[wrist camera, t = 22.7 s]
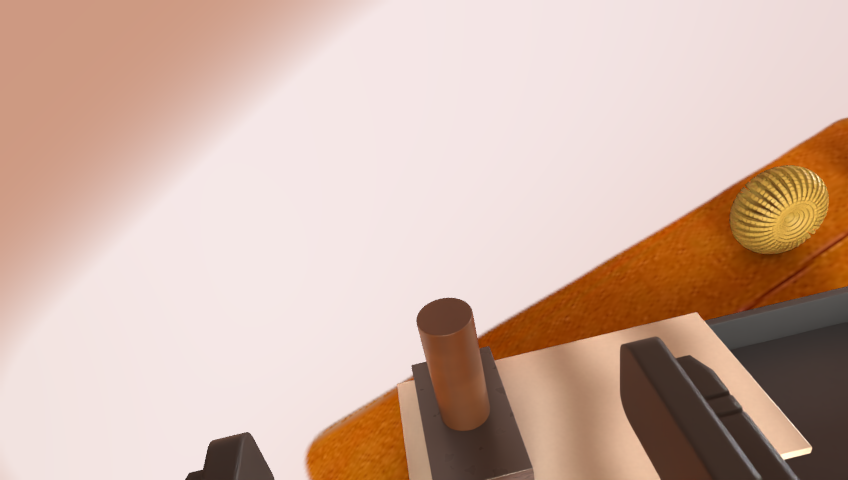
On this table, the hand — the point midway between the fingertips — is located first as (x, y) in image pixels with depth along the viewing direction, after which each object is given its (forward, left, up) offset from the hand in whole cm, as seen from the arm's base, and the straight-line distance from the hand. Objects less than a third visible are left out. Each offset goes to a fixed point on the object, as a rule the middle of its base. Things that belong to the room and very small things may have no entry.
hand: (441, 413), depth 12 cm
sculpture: (+19, +39, -24) cm, 50 cm away
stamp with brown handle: (-4, +13, -18) cm, 23 cm away
